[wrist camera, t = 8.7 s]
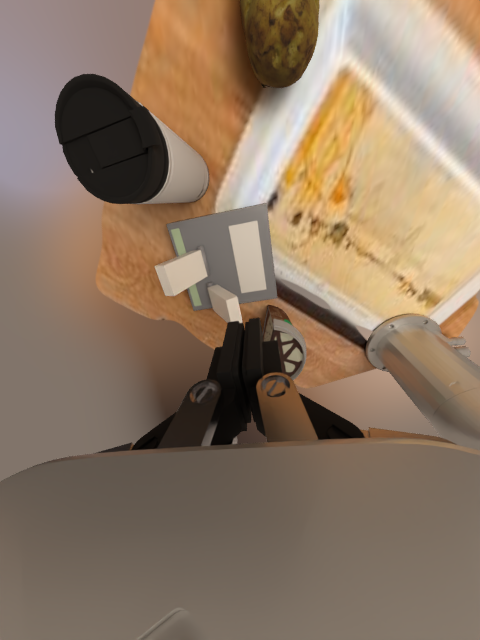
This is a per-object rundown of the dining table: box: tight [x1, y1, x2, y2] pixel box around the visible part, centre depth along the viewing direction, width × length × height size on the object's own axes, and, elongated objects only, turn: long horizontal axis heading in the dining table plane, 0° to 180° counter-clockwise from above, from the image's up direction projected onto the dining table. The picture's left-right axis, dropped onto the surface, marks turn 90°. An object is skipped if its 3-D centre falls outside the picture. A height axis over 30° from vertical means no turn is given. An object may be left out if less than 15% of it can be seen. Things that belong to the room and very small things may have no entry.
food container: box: [263, 305, 306, 380], centre depth 37 cm, size 12×6×10 cm, turn 174°
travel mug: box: [55, 74, 209, 204], centre depth 21 cm, size 6×7×20 cm
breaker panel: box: [166, 203, 277, 311], centre depth 34 cm, size 14×14×3 cm
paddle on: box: [154, 245, 211, 296], centre depth 29 cm, size 2×4×8 cm, turn 11°
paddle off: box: [207, 282, 242, 323], centre depth 32 cm, size 2×4×8 cm, turn 11°
